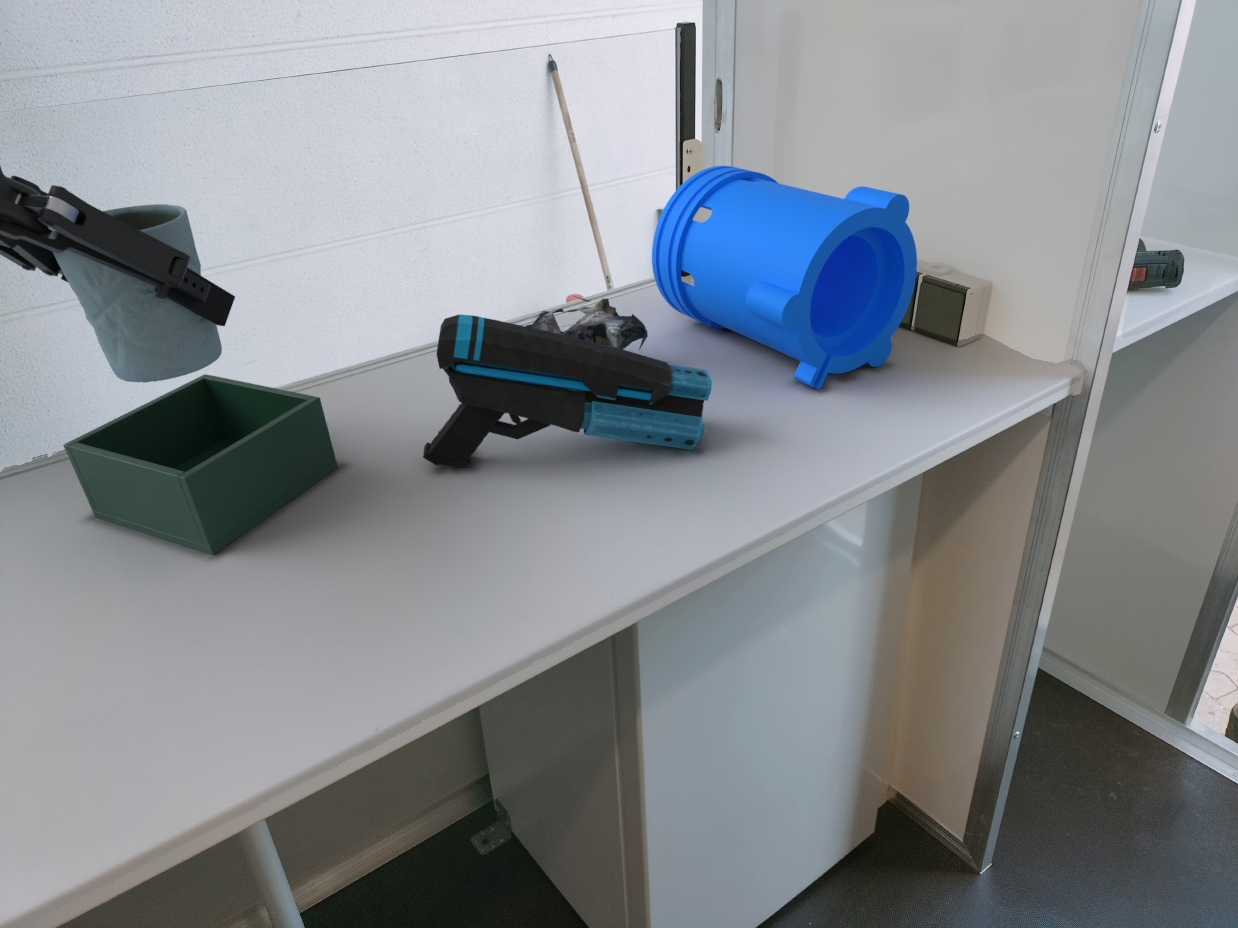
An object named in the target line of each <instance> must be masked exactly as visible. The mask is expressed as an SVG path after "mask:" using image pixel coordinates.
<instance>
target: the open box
mask: <svg viewBox="0 0 1238 928" xmlns="http://www.w3.org/2000/svg"><path fill="white" fill-rule="evenodd" d="M321 400H322V399H321V397H320V396H315V395H311V394H305V393H301V392H295V391H291V390H286V389H281V388H276V387H270V386H266V385H261V384H258V383H257V384H256V383H252V382H251V383H250V382H246V381H241V380H237V379H231V378H227V377H222V376H216V375H213V374H207V373H205V374H202V375H200V376H198V377H196V378H195V379H192V380H190V381H188V382H186V383H184V384H182V385H180V386H178V387H176V388H173V389H172V390H170V391H168V392H166V393H164V394H162V395H160V396H158V397H156V398H154V399H152V400H150V401H148V402H145V403H144V404H142V405H140V406H138V407H136V408H134V409H132V410H130V411H128V412H126V413H124V414H122V415H119V416H118V417H116V418H113V419H112V420H110V421H108V422H106V423H104V424H102V425H100V426H97V427H96V428H94V429H92V430H90V431H88V432H85V433H84V434H82V435H80V436H78V437H75V438H74V439H71V440H70V441H67V442H65V443H64V444H63V445H62V446H63V448H64V450H65V452H66V455H67V457H68V459H69V461H70V463H71V466H72V468H73V470H74V472H75V474H76V475H75V476H76V477H77V479H78V481H79V484H80V487H81V489H82V490H83V492H84V495H85V497H86V499H87V502H88V504H89V506H90V508H91V511H92V513H93V516H94V517H95V518H97V519H99V520H103V521H106V522H109V523H112V524H115V525H119V526H121V527H125V528H127V529H130V530H134V531H136V532H140V533H143V534H146V535H149V536H153V537H156V538H159V539H162V540H165V541H168V542H171V543H174V544H178V545H181V546H184V547H187V548H190V549H193V550H196V551H199V552H201V553H202V552H203V553H205V554H208V555H212V556H214V555H215V554H217V553H219V552H220V551H222V550H223V549H224V548H226V547H227V546H228V545H230V544H231V543H233V542H234V541H235V540H237V539H238V538H240V537H241V536H242V535H244V534H245V533H247V532H248V531H250V530H251V529H253V528H254V527H255V526H256V525H258V524H259V523H261V522H263V521H264V520H265V519H267V518H268V517H270V516H271V515H272V514H274V513H275V512H278V510H280V509H281V508H282V507H284V506H285V505H287V504H288V503H289V502H291V501H292V500H294V499H295V498H296V497H298V496H299V495H301V494H302V493H303V492H306V491H307V490H308V489H309V488H311V487H312V486H314V485H315V484H317V483H318V482H319V481H321V480H322V479H324V478H325V477H326V476H328V475H329V474H330V473H332V472H334V471H335V470H336V469H338V468H339V465H338V462H337V459H336V458H337V457H336V454H335V450H334V447H333V442H332V439H331V435H330V431H329V428H328V427H329V426H328V424H327V420H326V416H325V411H324V408H323V404H322V401H321Z"/></svg>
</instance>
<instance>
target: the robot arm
mask: <svg viewBox="0 0 1238 928" xmlns="http://www.w3.org/2000/svg"><path fill="white" fill-rule="evenodd" d="M103 211H104V210H101V209H99V208H97V207H95V206H93V205H91V204H90V203H88V202H87V201H85V200H84V199H82V198H80V197H79V196H77V195H75V194H74V193H73V192H71V191H69V190H68V189H67V188H65V187H63V186H61V185H55V184H52V185H51V186H50V187H49V191H48V193H47V192H45V191H44V190H42V189H41V188H40V186H39V185H37V184H36V183H34V182H31V181H29V180H28V179H25V178H23V177H20V176H17V175H11V176H10V177H8V176H6V175H5V174H4V172H3V170H2V166H1V165H0V256H1V257H3V258H6V259H7V260H8V261H11V262H12V263H14V264H16V265H18V266H19V267H21V268H22V269H23V270H26V271H29V272H30V271H31V272H36V269H38V270H40V271H41V272H42V273H43V274H45V275H46V276H49V277H58V276H59V275H61V278H60V280H62V281H64V282H66V283H68V281H67V279H66V277H65V276H64V274H63V272H62V270H61V268H60V266H59V264H58V262H57V260H56V258H55V256H54V254H53V252H55V253H62V252H64V251H67V250H68V251H71V252H73V253H76V254H78V255H81V256H83V257H86V258H88V259H90V260H93V261H95V262H98V263H100V264H103V265H105V266H107V267H110V268H112V269H115V270H117V271H120V272H122V273H124V274H127V275H129V276H132V277H134V278H137V279H139V280H142V281H144V282H146V283H149V284H151V285H154V286H156V288H155V291H156V292H157V293H156V295H155V297H158V298H161V299H166V297H167V298H169V299H171V300H172V301H174V302H176V303H178V304H180V305H182V306H183V307H185V308H187V309H189V310H191V311H193V312H194V313H196V314H198V315H200V316H202V317H203V318H205V319H207V320H209V321H211V322H213V323H214V324H216V325H217V326H219V327H226V323H227V321H228V318H229V316H230V314H231V310H232V307H233V304H234V303H235V302H234V301H235V299H236V295H234V294H232V293H231V292H229V291H228V290H226V289H223V287H221V286H219V285H217V284H215V283H214V282H213V281H210V280H209V279H207V278H206V277H204V276H202V274H201V275H199V274H197V273H196V272H194V271H192V270H191V269H189V268H187V267H188V264H189V261H190V259H191V258H190V256H189V255H187V254H186V253H184V252H181V251H179V250H177V249H175V248H173V247H171V246H169V245H167V244H165V243H163V242H161V241H159V240H157V239H155V238H154V237H152V236H150V235H148V234H146V233H144V232H142V231H140V230H138V229H136V228H134V227H132V226H130V225H128V224H126V223H124V222H122V221H120V220H119V219H117V218H115V217H113V216H111V215H109V214H107V213H105V212H103ZM52 231H55V232H58V234H57V236H56V239H54V240H53V239H49V238H48V237H49V236H50V235H51V233H52ZM52 251H53V252H52Z"/></svg>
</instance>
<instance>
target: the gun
mask: <svg viewBox="0 0 1238 928" xmlns="http://www.w3.org/2000/svg"><path fill="white" fill-rule="evenodd" d="M436 358H437V364H438V368H439V370H443V372H445V374H446V375H447V377H448V383H449V384H450V386H451V388H452V390H453V392H454V394H455V397H456V399H457V400H458V402H459V403H460V404H459V405H458V406H457V407H456V410H455V411H454V412H453V413H452V414H451V415H450V417H449V418H448V420H447V421H446V422H445V424H444V425H443V426H442V427H441V429H440V430H439V431H438V433H437V434H436V436H434V437H433V439H432V440H431V442H428V441H427V442H426V443H425V444H424V445H423V446H424V448H423V452H422V453H423V454H422V458H423V459H425V460H426V461H428V462H430V463H431V464H433V465H434V466H443V467H444V466H445V467H458V468H470V467H471V458H472V456H473V455H474V453H475V452H476V451H477V450H478V448H479V446H480V445H481V444H482V443H483V441H484V440H485V438H486V437H488V435H489V433H490V434H494V435H499V436H502V437H507V438H511V439H514V440H521V439H522V438H525V437H527V436H529V435H532V434H534V433H536V432H539V431H541V430H544V429H546V428H548V427H550V426H551V425H552V426H554V427H555V426H556V427H557V428H562V429H564V430H568V431H570V432H573V433H580V431H581V430H583V434H584V435H585V436H592V437H597V438H598V437H599V438H604V439H605V438H606V439H612V440H619V441H627V442H634V443H641V444H648V445H656V446H662V447H670V448H677V449H683V450H684V449H685V450H690V451H691V450H692V451H693V450H694V449H695V447H696V446H697V445H698V442H699V441H701V439H704V438H705V436H706V432H707V426H706V424H705V423H703V413H704V403H705V401H706V402H708V401H709V398H710V395H711V392H712V384H713V383H712V382H713V380H712V378H711V377H710V375H709V373H708V371H707V370H706V369H701V368H695V367H690V366H689V367H688V366H683V365H676V364H670V363H669V362H667V361H664V360H660V359H657V358H654V357H650V356H646V355H642V354H640V353H636V352H633V351H629V350H626V349H624V350H622V349H618V348H614V347H610V346H606V345H602V344H598V343H594V342H590V341H586V340H582V339H577V338H573V337H569V336H565V335H561V334H557V333H553V332H549V331H544V330H540V329H535V328H530V327H526V325H520V324H516V323H511V322H507V321H502V320H496V319H492V318H487V317H482V316H479V315H471V314H462V313H461V314H455V315H452V316H449V317H446V318H444V319H443V321H442V323H441V325H440V328H439V334H438V341H437V348H436ZM505 414H508V415H509V417H510V420H511V422H512V423H509V422H504V421H501V418H503V416H504V415H505ZM521 418H525V420H522V419H521ZM513 423H514V424H513Z"/></svg>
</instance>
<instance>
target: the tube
mask: <svg viewBox="0 0 1238 928" xmlns="http://www.w3.org/2000/svg"><path fill="white" fill-rule="evenodd" d="M700 208H702V209H706V210H709V211H711V214H710V215H709V217H708V218H707V219H706V220H705V221H701V222H700V221H697V220H695V219H694V218H695V216H696V214H697V213H698V211H699V210H700ZM909 213H910V201H909V199H908V197H907V195H904V194H901V193H896V192H892V191H887V190H882V189H877V188H873V187H869V186H865V185H864V186H863V185H861V186H856V187H853V188H852V189H850V190H849V191H848V192H847V193H846V195H845V197H844V198H843V197H839V196H833V195H829V194H825V193H820V192H817V191H812V190H808V189H804V188H799V187H796V186H791V185H787V184H783V183H779V182H778V181H777V180H776V179H774V178H773V177H771V176H770V175H767V174H765V173H762V172H758V171H753V170H749V169H745V168H740V167H737V166H731V165H714V166H711V167H707V168H705V169H702V170H699V171H698V172H696V173H694V174H693V175H691V176H690V177H689V178H688V179H686V180H685V181H684V182H683V183H681V185H679V187H678V188H677V189H676V190H675V191H674V192H673V194H672V195H671V196H670V197H669V199H668V200H667V203H666V204H665V206H664V207H663V210H662V211H661V213H660V216H659V219H658V220H657V224H656V227H655V230H654V234H653V240H652V247H651V265H652V266H651V267H652V272H653V277H654V280H655V284H656V286H657V289H658V291H659V293H660V295H661V296H662V298H663V299H664V301H665V302H666V303H667V304H668V305H669V306H670V307H671V308H672V309H673V310H675V311H677V312H678V313H680V314H681V315H685V316H687V317H688V318H691V319H693V320H695V321H698V322H699V323H701V324H704V325H707V326H709V327H712V328H716V329H728V330H731V331H732V332H735V333H737V334H739V335H742V336H744V337H746V338H748V339H751V340H753V341H755V342H757V343H759V344H762V345H763V346H765V347H768V348H770V349H773V350H775V351H777V352H779V353H782V354H784V355H786V356H788V357H790V358H793V359H795V360H797V361H799V364H798V366H797V368H796V370H795V372H794V375H793V378H794V379H795V381H799V382H801V383H802V384H805V385H806V386H808V387H810V388H813V389H816V390H819V389H821V388H822V387H823V385H824V382H825V380H826V378H827V376H828V374H844V373H847V372H848V373H849V372H851V371H854V370H856V369H858V368H860V367H862V366H864V365H865V364H866V365H867V366H869V367H872V368H878V367H880V366H882V365H883V364H884V363H885V362H886V361H887V360H888V358H889V356H890V355H891V352H892V349H893V348H892V347H893V341H892V337H893V336H894V334H895V333H896V332H897V330H898V328H899V327H900V325H901V323H902V322H903V319H904V317H905V315H906V312H907V310H908V308H909V305H910V303H911V299H912V297H913V294H914V289H915V286H916V285H915V284H916V279H917V272H918V271H917V270H918V256H917V246H916V242H915V238H914V235H913V232H912V230H911V228H910V227H909V225H908V223H907V219H908V218H909ZM682 272H685V273H688V274H689V275H690V276H691V277H692V280H693V285H692V284H690V283H688V282H685V281H683V280H682Z"/></svg>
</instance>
